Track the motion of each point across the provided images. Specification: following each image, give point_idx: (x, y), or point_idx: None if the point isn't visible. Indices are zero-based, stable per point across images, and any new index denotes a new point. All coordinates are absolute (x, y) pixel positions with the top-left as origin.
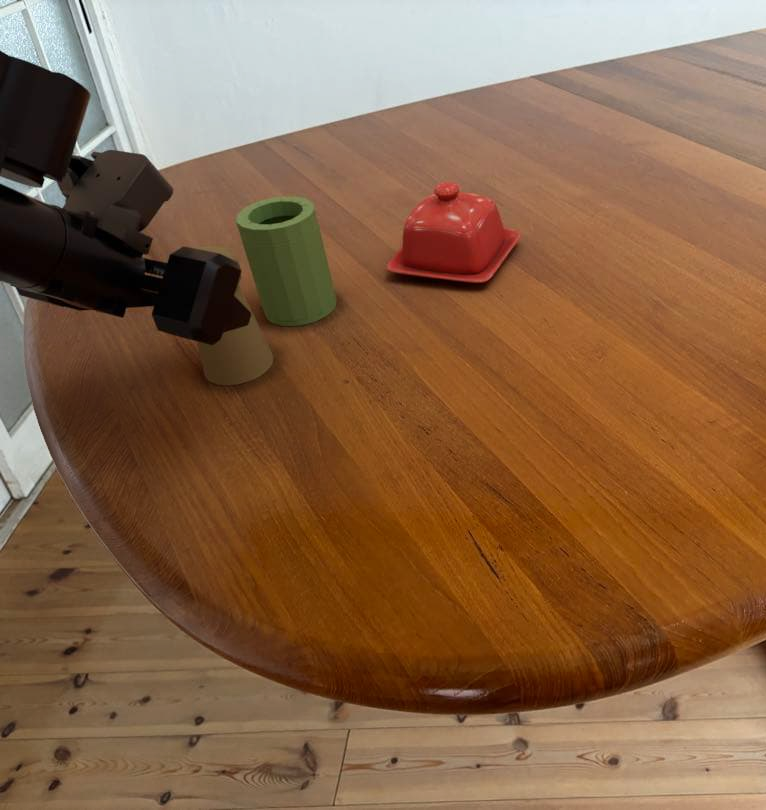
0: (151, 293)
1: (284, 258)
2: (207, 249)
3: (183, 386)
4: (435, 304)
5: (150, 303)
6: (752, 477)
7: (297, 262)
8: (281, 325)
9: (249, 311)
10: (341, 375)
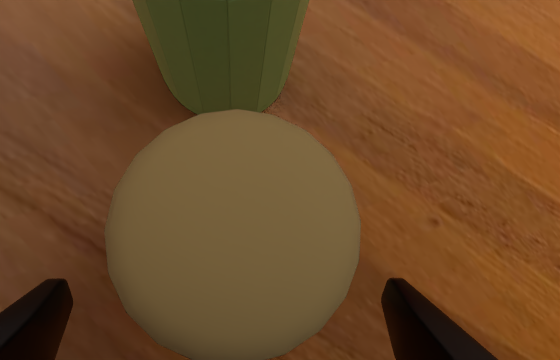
0: (38, 343)
1: (282, 18)
2: (237, 174)
3: None
4: (421, 10)
5: (50, 353)
6: None
7: (298, 15)
8: None
9: (412, 287)
10: (416, 210)
